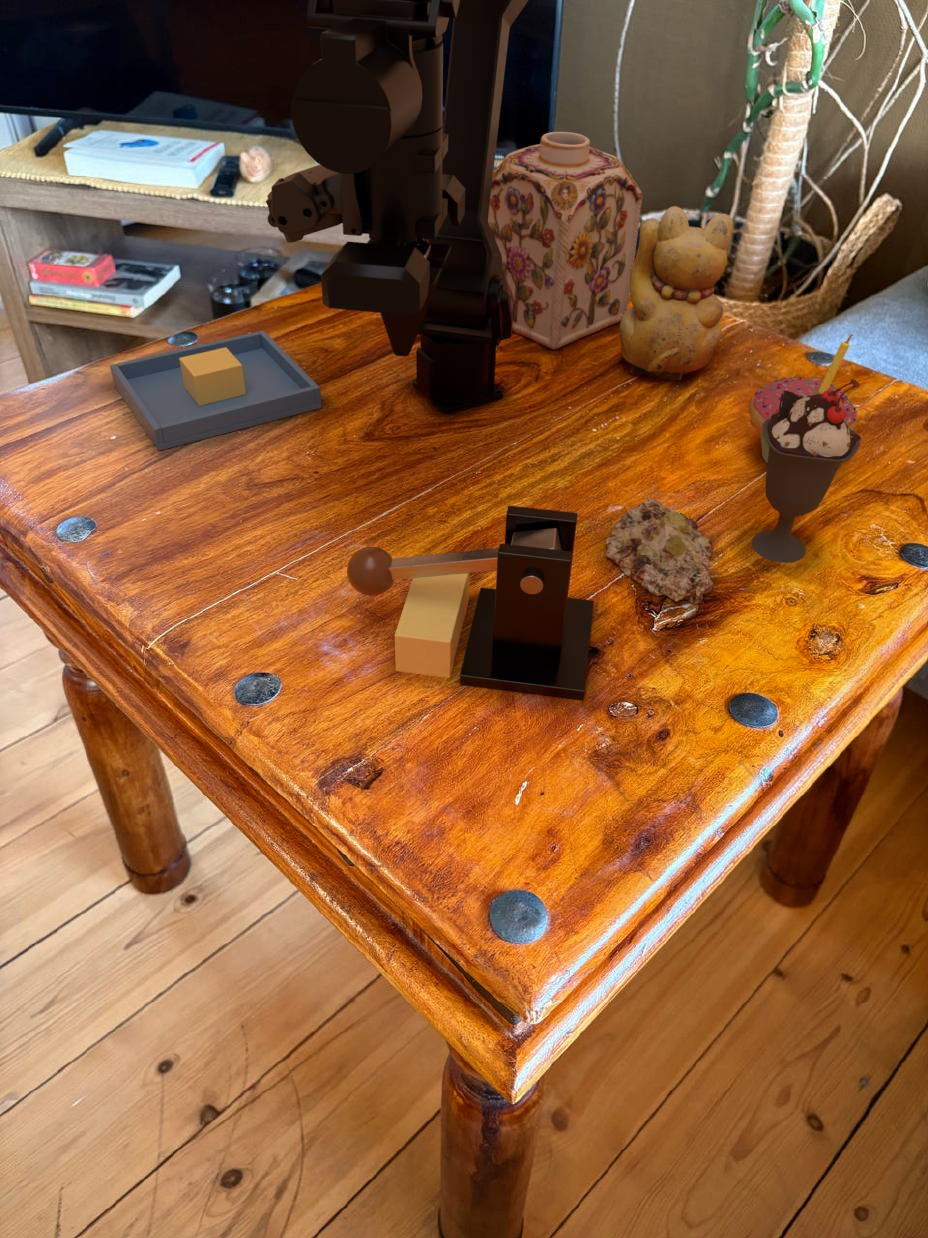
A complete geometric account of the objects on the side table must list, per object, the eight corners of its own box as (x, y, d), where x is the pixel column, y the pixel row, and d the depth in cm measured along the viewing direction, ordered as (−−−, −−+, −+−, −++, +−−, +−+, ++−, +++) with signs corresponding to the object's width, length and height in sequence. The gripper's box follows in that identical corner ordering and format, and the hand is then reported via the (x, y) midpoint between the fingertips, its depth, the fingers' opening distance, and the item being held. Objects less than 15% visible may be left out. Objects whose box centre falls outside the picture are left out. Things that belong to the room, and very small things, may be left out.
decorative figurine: (713, 355, 100) (744, 202, 90) (714, 395, 94) (748, 236, 84) (617, 346, 101) (637, 194, 91) (612, 385, 95) (633, 226, 85)
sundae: (826, 582, 73) (888, 399, 63) (733, 569, 74) (779, 387, 64) (820, 530, 78) (877, 353, 68) (733, 519, 79) (776, 342, 69)
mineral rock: (584, 505, 75) (683, 470, 76) (592, 546, 79) (687, 512, 79) (635, 598, 68) (745, 558, 68) (642, 639, 71) (747, 601, 71)
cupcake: (847, 448, 87) (888, 318, 79) (831, 497, 81) (874, 362, 73) (750, 425, 90) (780, 297, 82) (727, 471, 84) (758, 338, 76)
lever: (350, 607, 65) (334, 569, 63) (361, 577, 67) (347, 539, 65) (561, 589, 61) (551, 548, 59) (565, 558, 63) (556, 517, 61)
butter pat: (230, 376, 93) (226, 346, 91) (246, 394, 91) (242, 364, 89) (184, 387, 92) (178, 357, 90) (199, 406, 89) (193, 376, 87)
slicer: (459, 688, 64) (462, 569, 57) (479, 599, 71) (484, 484, 64) (583, 704, 63) (600, 585, 57) (592, 613, 70) (608, 497, 63)
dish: (266, 349, 99) (263, 329, 97) (321, 408, 90) (320, 387, 89) (114, 385, 93) (109, 364, 91) (158, 451, 84) (154, 429, 83)
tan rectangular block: (419, 597, 71) (418, 558, 68) (469, 603, 70) (470, 564, 68) (395, 674, 65) (394, 635, 62) (450, 681, 64) (450, 642, 62)
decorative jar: (473, 314, 106) (478, 134, 94) (549, 286, 112) (562, 112, 100) (555, 354, 99) (571, 165, 87) (630, 321, 105) (655, 140, 94)
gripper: (313, 80, 70) (328, 293, 81) (224, 160, 56) (256, 405, 67) (468, 90, 69) (463, 304, 79) (416, 175, 55) (419, 421, 66)
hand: (402, 353), depth 73 cm, fingers closed
